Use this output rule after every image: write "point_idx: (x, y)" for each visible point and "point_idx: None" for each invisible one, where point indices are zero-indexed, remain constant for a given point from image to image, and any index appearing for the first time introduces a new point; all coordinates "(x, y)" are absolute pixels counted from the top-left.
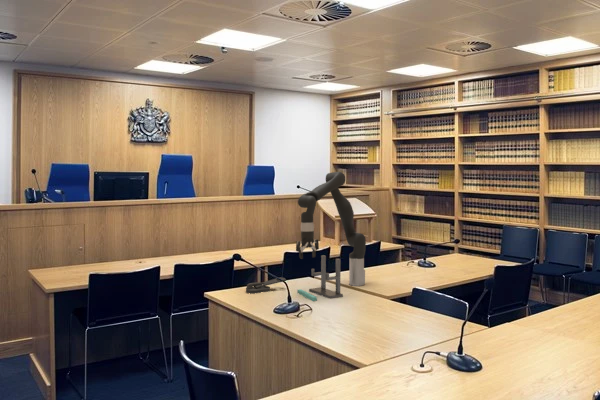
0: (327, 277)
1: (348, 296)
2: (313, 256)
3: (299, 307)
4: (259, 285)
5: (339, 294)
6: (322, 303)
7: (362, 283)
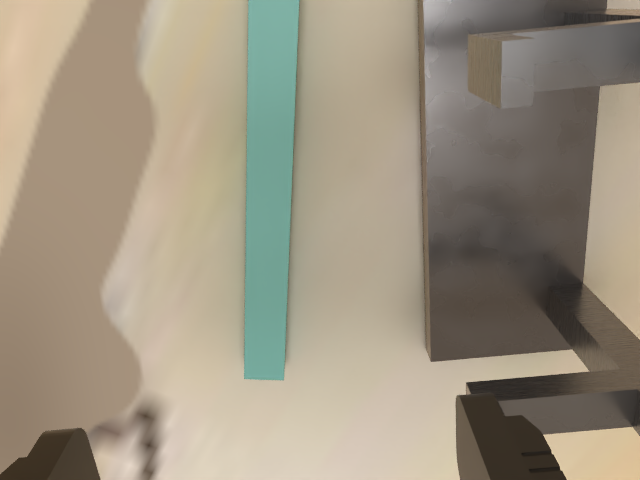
0: None
1: None
2: (462, 452)
3: None
4: None
5: (541, 347)
6: (283, 446)
7: None
